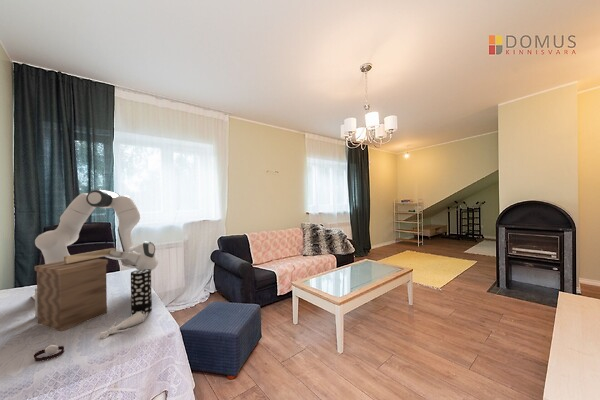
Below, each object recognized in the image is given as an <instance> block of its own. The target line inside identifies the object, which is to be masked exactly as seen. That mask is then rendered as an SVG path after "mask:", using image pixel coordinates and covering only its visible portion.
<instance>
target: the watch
mask: <svg viewBox="0 0 600 400" xmlns="http://www.w3.org/2000/svg"><path fill="white" fill-rule="evenodd" d="M64 353H65V346H64V345H56V344H50V345H49V346H47V347H45V348H44V349H41V350H38V351H37V352H35V353H34V354H33V358H34V359H33V360H34V361H35V362H43V361H42V360H44V361H48V360H51V358H52V359H55V358H57V356H58V357H60V356H61V355H62V354H63V355H64ZM42 354H50V355H47V356H41V355H42ZM39 356H40V357H39ZM54 357H55V358H54ZM47 359H48V360H47Z"/></svg>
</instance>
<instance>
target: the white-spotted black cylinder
mask: <svg viewBox="0 0 600 400" xmlns="http://www.w3.org/2000/svg"><path fill="white" fill-rule="evenodd" d="M152 298H153V297H152V271H151V269H141V270H137V269H135V270H134V271H131V272H130V300H131V301H130V310H131V311H130V313H131V316H132V315H134V314H135V313H137V312H141V313H142V314H143V311H144V312H145V313H144V315H145V314H146V312H147V313H151V312H152V310H153V309H152V308H153V307H152V305H153V304H152V303H153V302H152Z"/></svg>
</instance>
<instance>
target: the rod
mask: <svg viewBox="0 0 600 400" xmlns="http://www.w3.org/2000/svg"><path fill="white" fill-rule="evenodd" d="M110 250H112V251H117V249H116V248H113V247H111V248H104V249H100V250H94V251H87V252H81V253H77V254H70V256H64V263H67V264H68V263H73V262H78V261H83V260H88V259H93V258H96V259H99V258H103V257H104V256H108V255H112V254H109V253H108V252H109V251H110Z"/></svg>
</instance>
